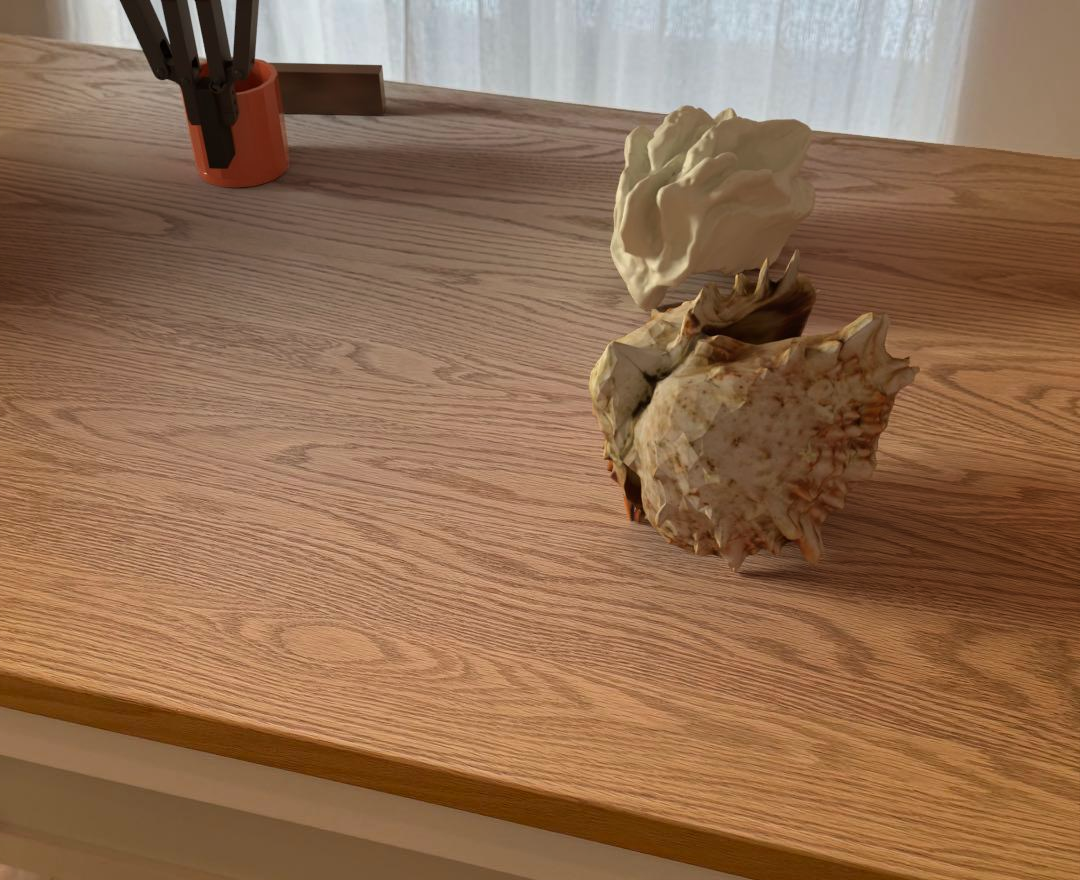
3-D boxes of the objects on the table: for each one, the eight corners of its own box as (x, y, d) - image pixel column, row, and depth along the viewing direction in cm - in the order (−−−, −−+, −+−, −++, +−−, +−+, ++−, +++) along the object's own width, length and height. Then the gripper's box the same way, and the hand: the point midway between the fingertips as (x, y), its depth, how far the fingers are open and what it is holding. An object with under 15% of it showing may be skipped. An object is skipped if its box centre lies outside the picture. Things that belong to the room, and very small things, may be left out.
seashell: (974, 271, 61) (813, 181, 73) (645, 365, 57) (530, 253, 69) (944, 558, 72) (807, 439, 83) (664, 655, 67) (561, 516, 79)
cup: (187, 186, 106) (167, 95, 100) (209, 144, 112) (192, 55, 106) (280, 188, 106) (265, 97, 100) (297, 146, 111) (285, 57, 106)
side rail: (234, 112, 116) (227, 70, 114) (239, 103, 118) (232, 61, 115) (383, 115, 116) (379, 73, 113) (386, 106, 117) (382, 64, 114)
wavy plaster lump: (692, 303, 105) (725, 111, 100) (817, 331, 96) (860, 121, 91) (533, 293, 93) (564, 73, 88) (660, 323, 84) (700, 81, 79)
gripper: (49, -143, 84) (131, 180, 100) (240, -142, 83) (291, 184, 99) (85, -173, 89) (157, 139, 105) (265, -172, 89) (309, 142, 105)
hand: (222, 160), depth 102 cm, fingers closed
